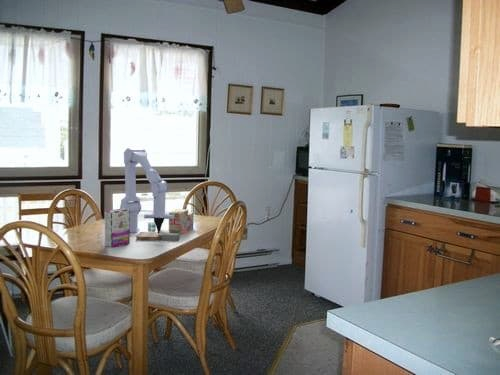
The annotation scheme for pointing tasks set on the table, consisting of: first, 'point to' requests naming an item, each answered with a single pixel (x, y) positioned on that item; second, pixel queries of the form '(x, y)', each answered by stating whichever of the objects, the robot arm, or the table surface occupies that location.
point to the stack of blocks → (181, 221)
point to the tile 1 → (164, 232)
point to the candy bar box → (117, 227)
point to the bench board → (148, 236)
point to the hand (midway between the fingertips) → (158, 233)
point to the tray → (171, 236)
